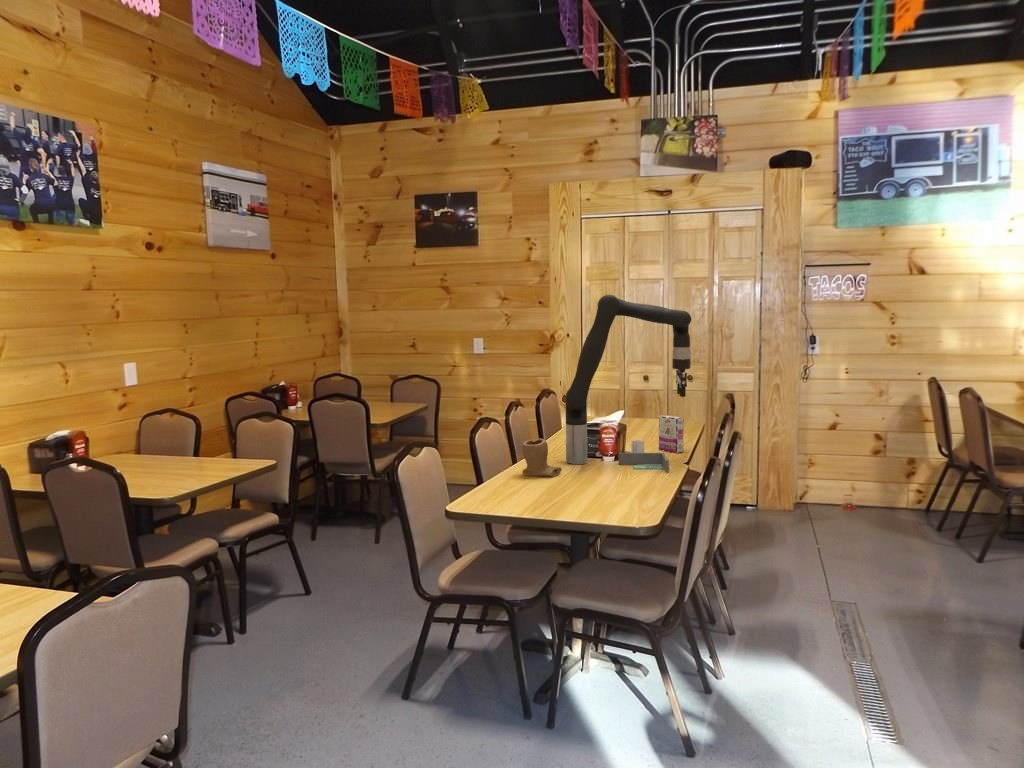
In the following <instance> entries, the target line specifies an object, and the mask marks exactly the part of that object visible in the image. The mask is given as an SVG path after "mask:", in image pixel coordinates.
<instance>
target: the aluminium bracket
mask: <svg viewBox="0 0 1024 768" xmlns="http://www.w3.org/2000/svg"><path fill="white" fill-rule="evenodd" d="M630 443H631V452H630V453H645V441H644V440H641V439H640V440H639V439H634V440H631V442H630Z"/></svg>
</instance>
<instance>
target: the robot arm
mask: <svg viewBox="0 0 1024 768" xmlns="http://www.w3.org/2000/svg"><path fill="white" fill-rule="evenodd" d="M616 316H623V317H628V318H634V319H638V320H642V321H645V322H649V323H656V324H663V325H669V326H672V332H673V338H672V340H673V341H672V353H671V354H672V355H671V356H672V357H671V358H672V364H671V365H672V367H671V368H672V369H674V370H675V373H676V374H675V383H676V394H678V395H679V396H680V397H681V398H683V397H686V395H687V394H686V392H687V391H686V388H687V387H688V377H687V375H688V373H687V372H686V370H690V369H691V353H692V352H691V337H690V336H691V335H690V333H689V329H690V324H691V322H692V316H691V314H690V313H689V312H687V311H685V310H681V309H673V308H672V309H671V308H667V307H664V306H659V305H655V304H654V305H653V304H647V303H646V304H645V303H639V302H638V303H636V302H631V301H626V300H623V299H621V298H618V297H617V296H616V295H613V294H605V295H603V296H601V297H600V298H599V299H598V301H597V310H596V314H595V318H594V321H593V323H592V327H591V328H590V329H589V332H588V334H587V336H586V337H585V340H584V343H583V344H582V348H581V351H580V354H579V356H578V357H579V358H578V362H577V367H576V370H575V375H574V379H573V381H572V384H571V385H570V387H569V388H568V390H567V391H566V394H565V399H564V400H565V462H566V463H572V464H571V465H584V464H587V463H588V413H587V412H588V411H587V410H588V408H587V407H588V406H587V405H588V404H587V402H588V401H587V400H588V395H589V391H590V387H591V384H592V381H593V378H594V376H595V374H596V372H597V369H598V368H599V366H600V364H601V361H602V358H603V355H604V352H605V350H606V345H607V342H608V337H609V334H610V330H611V327H612V325H613V322H614V320H615V318H616Z"/></svg>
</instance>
